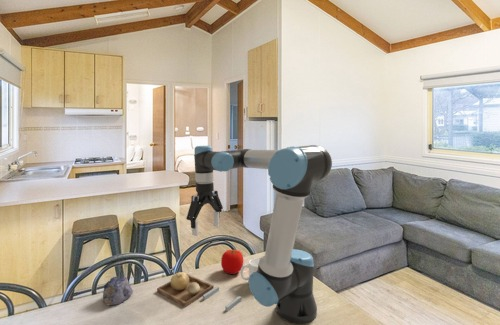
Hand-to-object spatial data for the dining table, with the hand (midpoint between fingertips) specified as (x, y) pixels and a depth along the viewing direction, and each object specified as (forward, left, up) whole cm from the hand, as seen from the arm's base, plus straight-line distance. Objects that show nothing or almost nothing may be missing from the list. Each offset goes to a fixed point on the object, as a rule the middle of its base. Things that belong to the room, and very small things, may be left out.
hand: (206, 230), depth 129 cm
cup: (-17, -12, -25) cm, 32 cm away
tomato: (-2, -14, -25) cm, 29 cm away
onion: (+7, +10, -24) cm, 27 cm away
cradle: (-14, +6, -24) cm, 29 cm away
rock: (+21, +30, -25) cm, 44 cm away
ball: (-2, +10, -24) cm, 26 cm away
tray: (+3, +10, -24) cm, 27 cm away
